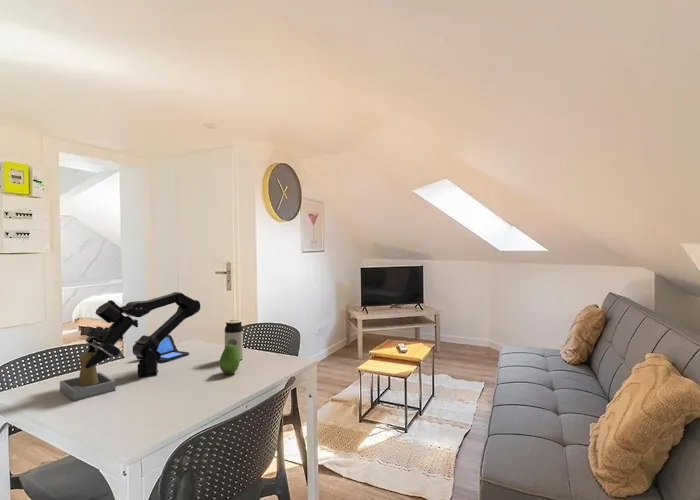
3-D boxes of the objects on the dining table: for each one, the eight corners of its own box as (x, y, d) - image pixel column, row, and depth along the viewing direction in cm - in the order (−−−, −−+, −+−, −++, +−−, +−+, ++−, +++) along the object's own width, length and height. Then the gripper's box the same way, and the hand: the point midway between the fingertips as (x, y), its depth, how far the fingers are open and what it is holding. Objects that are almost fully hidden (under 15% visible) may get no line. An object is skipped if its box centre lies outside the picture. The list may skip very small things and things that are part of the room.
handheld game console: (163, 363, 169) (163, 343, 169) (142, 360, 174) (142, 340, 174) (190, 355, 183) (190, 336, 183) (170, 352, 188) (170, 333, 188)
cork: (88, 387, 132) (87, 355, 132) (73, 386, 133) (73, 355, 133) (102, 381, 138) (102, 351, 138) (88, 380, 139) (88, 350, 139)
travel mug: (229, 356, 178) (229, 319, 178) (245, 357, 177) (245, 319, 177) (221, 361, 170) (221, 322, 171) (238, 362, 169) (238, 322, 169)
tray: (59, 390, 135) (59, 381, 136) (99, 381, 145) (99, 372, 145) (73, 401, 126) (73, 391, 126) (115, 390, 136) (115, 380, 136)
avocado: (240, 375, 152) (240, 345, 152) (219, 377, 149) (219, 347, 149) (239, 369, 159) (239, 341, 159) (219, 371, 157) (219, 342, 157)
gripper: (91, 314, 144) (56, 349, 136) (109, 320, 133) (72, 358, 124) (114, 331, 151) (82, 366, 142) (133, 338, 139) (100, 376, 130)
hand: (83, 366), depth 135 cm, fingers closed on cork, 5 cm apart
